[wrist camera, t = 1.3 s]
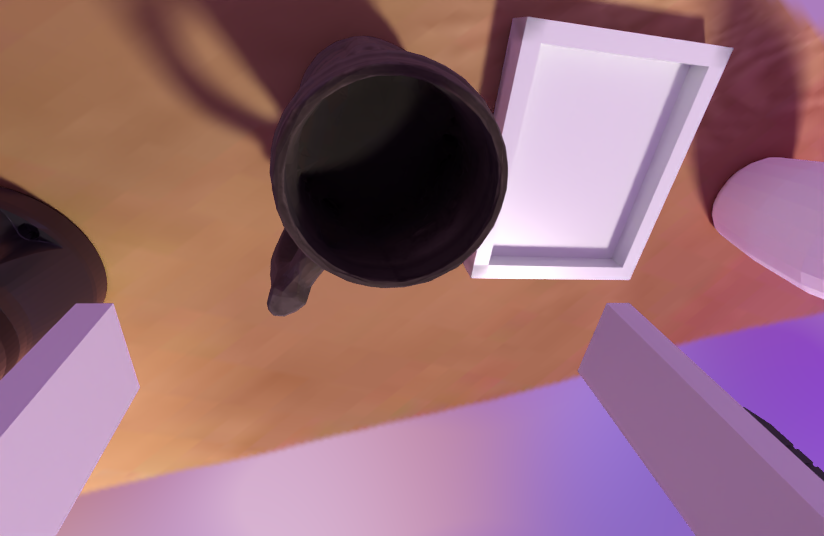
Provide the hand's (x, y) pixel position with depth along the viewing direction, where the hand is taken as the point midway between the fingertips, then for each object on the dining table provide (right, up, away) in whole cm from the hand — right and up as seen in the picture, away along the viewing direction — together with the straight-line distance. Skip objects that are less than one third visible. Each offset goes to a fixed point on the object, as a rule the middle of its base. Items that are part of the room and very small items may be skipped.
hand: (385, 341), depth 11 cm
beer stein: (-4, +13, +22) cm, 26 cm away
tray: (+16, +12, +27) cm, 33 cm away
